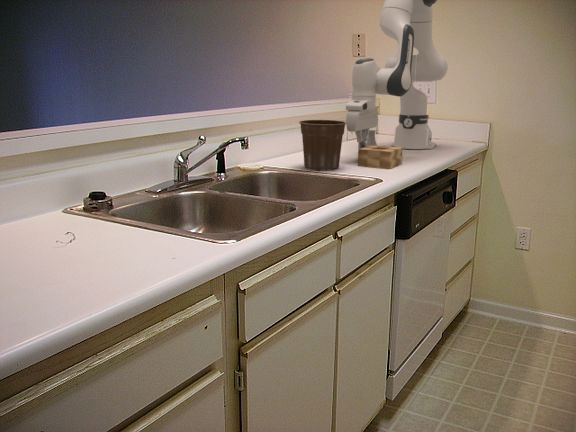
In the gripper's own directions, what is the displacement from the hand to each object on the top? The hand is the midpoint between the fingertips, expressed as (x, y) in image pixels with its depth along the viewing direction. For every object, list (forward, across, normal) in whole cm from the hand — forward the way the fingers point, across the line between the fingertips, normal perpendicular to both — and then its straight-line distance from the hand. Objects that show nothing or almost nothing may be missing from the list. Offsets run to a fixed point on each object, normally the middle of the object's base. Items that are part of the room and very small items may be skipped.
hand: (362, 141), depth 214 cm
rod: (+7, 0, 0) cm, 7 cm away
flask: (+7, -13, -2) cm, 15 cm away
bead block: (+7, +6, +10) cm, 14 cm away
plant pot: (+7, +22, -5) cm, 24 cm away
